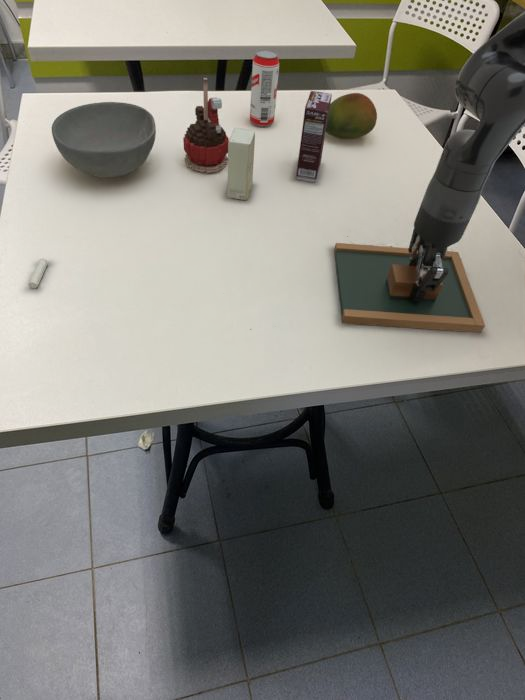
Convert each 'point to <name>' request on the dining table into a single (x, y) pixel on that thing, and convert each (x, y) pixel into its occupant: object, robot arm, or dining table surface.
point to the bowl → (105, 137)
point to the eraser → (406, 283)
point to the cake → (206, 137)
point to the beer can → (264, 87)
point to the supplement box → (313, 135)
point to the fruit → (351, 116)
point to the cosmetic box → (240, 163)
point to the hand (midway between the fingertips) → (412, 289)
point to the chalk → (38, 273)
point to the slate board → (377, 309)
